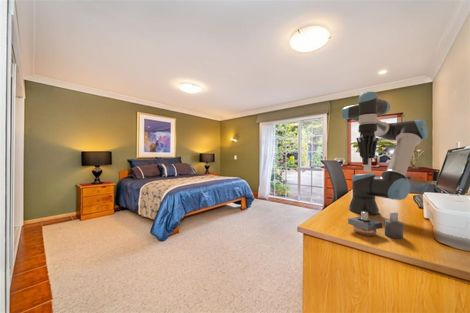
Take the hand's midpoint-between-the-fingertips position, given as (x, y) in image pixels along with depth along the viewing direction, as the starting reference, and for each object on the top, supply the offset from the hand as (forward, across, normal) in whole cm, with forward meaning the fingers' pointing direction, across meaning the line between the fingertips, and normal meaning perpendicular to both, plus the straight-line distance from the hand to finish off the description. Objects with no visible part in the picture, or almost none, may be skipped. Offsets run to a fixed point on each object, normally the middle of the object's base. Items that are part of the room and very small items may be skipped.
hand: (367, 171), depth 96 cm
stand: (+26, +4, +14) cm, 30 cm away
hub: (+26, +12, +7) cm, 30 cm away
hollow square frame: (+23, +12, +7) cm, 27 cm away
